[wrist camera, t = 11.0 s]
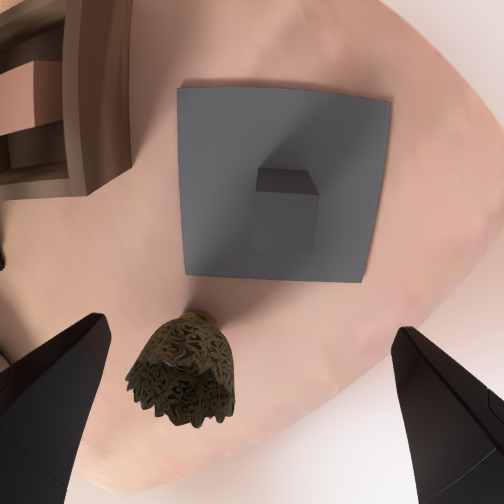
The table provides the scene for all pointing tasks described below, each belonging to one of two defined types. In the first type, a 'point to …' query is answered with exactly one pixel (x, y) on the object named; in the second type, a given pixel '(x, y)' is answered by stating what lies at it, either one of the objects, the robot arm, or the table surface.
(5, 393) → the robot arm
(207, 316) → the cup
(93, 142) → the walnut box
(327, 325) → the table surface
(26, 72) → the terracotta cube
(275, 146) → the lid
